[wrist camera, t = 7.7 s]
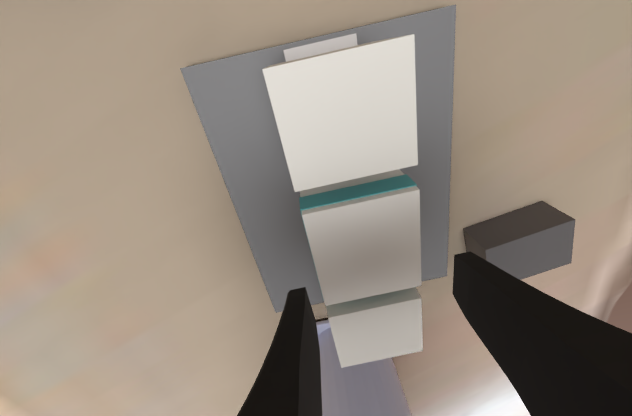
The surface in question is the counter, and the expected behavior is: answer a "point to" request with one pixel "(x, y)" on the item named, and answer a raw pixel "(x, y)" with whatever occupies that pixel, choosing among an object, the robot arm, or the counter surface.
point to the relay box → (524, 240)
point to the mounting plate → (268, 165)
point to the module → (364, 235)
